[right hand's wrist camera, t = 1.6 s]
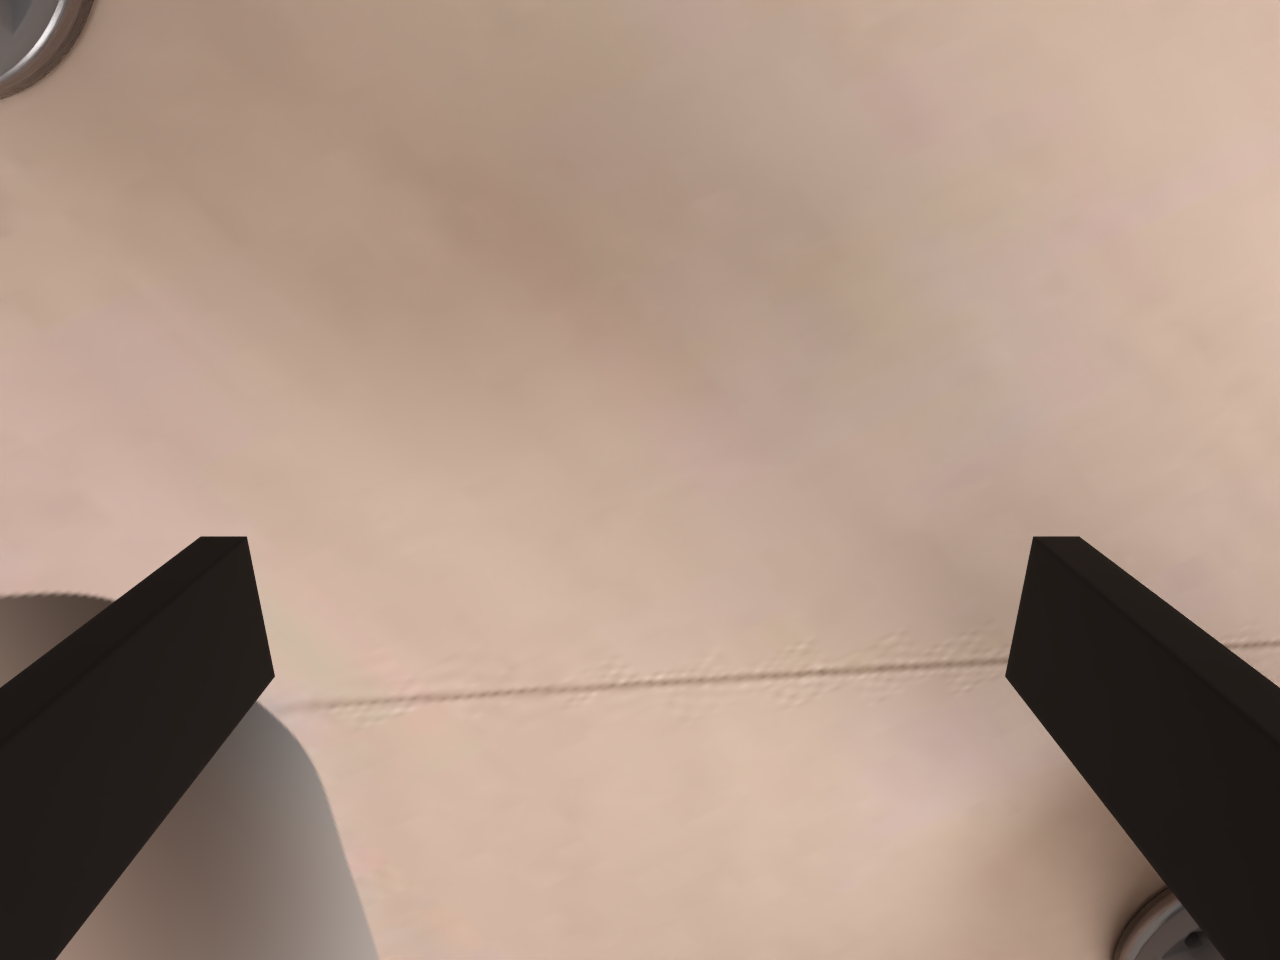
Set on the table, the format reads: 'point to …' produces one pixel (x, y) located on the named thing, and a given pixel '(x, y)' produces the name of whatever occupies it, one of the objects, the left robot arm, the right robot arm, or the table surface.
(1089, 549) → the right robot arm
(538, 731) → the table surface
